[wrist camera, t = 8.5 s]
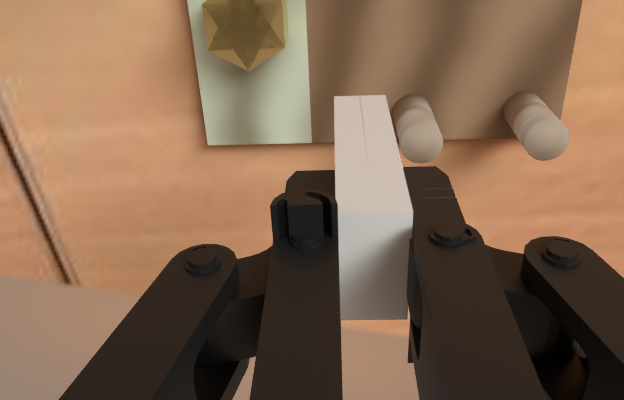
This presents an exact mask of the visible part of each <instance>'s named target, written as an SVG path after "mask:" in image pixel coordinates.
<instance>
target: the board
mask: <svg viewBox="0 0 624 400" xmlns="http://www.w3.org/2000/svg"><path fill="white" fill-rule="evenodd" d="M204 1H205V0H187V4H188V11H189V18H190V25H191V32H192V39H193V46H194V53H195V60H196V66H197V73H198V80H199V87H200V94H201V101H202V108H203V115H204V122H205V129H206V136H207V143H208V145H247V144H288V143H330V142H335V133H334V96H364V95H386V99H387V104H388V108H389V112H390V116H391V120H392V125H393V129H394V133H395V137H396V141H399V143H400V148H401V151H402V153H403V155H404V156H405V158H407V159H408V160H409V161H411V162H414V163H426V162H429V161H431V160H433V159H435V158H436V157H437V156H438V155H439V154H440V152H441V150H442V147H443V140H454V139H495V138H518V139H519V140H520V142H521V143H522V145H523V146H524V148H525V149H526V151H527V152H528V154H529V155H530V156H531V157H533V158H534V159H537V160H542V161H545V160H551V159H554V158H556V157H558V156H559V155H560V154H562V153H563V152H564V151H565V149H566V148H567V146H568V143H569V139H570V137H569V132H568V130H567V128H566V127H565V126H564V125H563V124H562V122H561V121H560V119H561V114H562V108H563V103H564V97H565V92H566V86H567V81H568V75H569V70H570V64H571V59H572V54H573V48H574V43H575V37H576V32H577V26H578V21H579V15H580V10H581V5H582V0H287V16H288V32H289V36H288V40H287V44H286V47H285V49H283V50H281V51H280V52H278V53H277V54H275V55H273V56H272V57H270V58H269V59H267V60H266V61H264V62H262V63H261V64H259V65H258V66H256V67H255V68H253V69H251V70H250V71H247V70H245V69H243V68H241V67H239V66H237V65H235V64H233V63H231V62H230V61H228V60H226V59H224V58H222V57H220V56H218V55H216V54H214V53H212V52H210V51H208V47H207V39H206V32H205V24H204V17H203V9H202V4H203V2H204Z"/></svg>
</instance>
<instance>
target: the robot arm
mask: <svg viewBox="0 0 624 400" xmlns="http://www.w3.org/2000/svg"><path fill="white" fill-rule="evenodd" d="M334 133H335V170H318V171H296V172H295V173H294V174H293V175H292V176H291V177H290V178H289V179H288V180H287V183H286V190H285V193H282V194H280V195H279V196H278V197H276V198H275V199H274V200H273V201H272V203H271V205H270V209H271V220H272V232H273V246H271V247H270V248H268V249H267V250H265V251H263V252H261V253H259V254H256V255H253V256H249V257H245V258H240V259H237V258H236V256H235V253H234V252H233V251H232V250H230V249H229V248H227V247H225V246H221V245H217V244H202V245H197V246H193V247H190V248H188V249H185V250H183V251H181V252H179V253H178V254H177V255H176V256H175V257H174V258H172V259H171V261H170V262H169V263H168V264H167V266H166V267H165V268H164V269H163V271H162V272H161V273H160V274H159V276H158V277H157V278H156V279H155V280H154V282H153V283H152V284H151V285H150V287H149V288H148V289H147V290H146V292H145V293H144V294H143V295H142V297H141V298H140V299H139V300H138V302H137V303H136V304H135V305H134V307H133V308H132V309H131V310H130V312H129V313H128V314H127V315H126V317H125V318H124V319H123V320H122V322H121V323H120V324H119V325H118V326H117V328H116V329H115V330H114V331H113V333H112V334H111V335H110V336H109V338H108V339H107V340H106V341H105V343H104V344H103V345H102V346H101V348H100V349H99V350H98V352H97V353H96V354H95V355H94V356H93V358H92V359H91V360H90V361H89V363H88V364H87V365H86V367H85V368H84V369H83V370H82V371H81V373H80V374H79V375H78V376H77V378H76V379H75V380H74V381H73V383H72V384H71V385H70V386H69V387H68V389H67V390H66V391H65V392H64V394H63V395H62V396H61V397H60V399H59V400H232V399H233V397H234V395H235V393H236V390H237V388H238V386H239V384H240V382H241V380H242V378H243V376H244V374H245V372H246V370H247V368H248V364H249V359H250V358H251V357H255V356H256V361H255V368H254V374H253V381H252V388H251V394H250V400H342V399H343V398H342V363H341V362H342V360H341V320H397V319H407V315H408V306H409V312H410V332H409V349H408V363H413V362H414V368H415V375H416V380H417V387H418V392H419V399H420V400H624V278H623V277H622V276H621V275H620V274H618V273H617V272H616V271H615V270H614V269H613V268H612V267H611V266H609V265H608V264H607V263H606V262H605V261H604V260H603V259H602V258H601V257H599V256H598V255H597V254H596V253H595V252H594V251H593V250H591V249H590V248H588V247H587V246H585V245H584V244H582V243H579V242H577V241H574V240H571V239H569V238H564V237H556V236H550V237H540V238H537V239H533V240H531V241H530V242H529V243H528V244H527V245H525V250H524V254H520V253H515V252H509V251H504V250H499V249H495V248H492V247H490V246H487V245H485V244H484V241H483V239H482V236H481V235H480V234H479V232H478V231H477V230H476V229H474V228H473V227H471V226H469V225H468V224H466V223H465V220H464V217H463V215H462V212H461V210H460V207H459V204H458V202H457V199H456V198H455V194H454V191H453V189H452V186H451V183H450V180H449V178H448V176H447V175H446V174H445V173H444V172H442V171H441V170H440V169H439V168H437V167H436V166H430V167H403V166H402V162H401V158H400V154H399V150H398V145H397V141H396V137H395V133H394V129H393V125H392V120H391V116H390V112H389V108H388V104H387V99H386V95H364V96H334Z"/></svg>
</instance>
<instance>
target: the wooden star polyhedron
mask: <svg viewBox="0 0 624 400" xmlns="http://www.w3.org/2000/svg"><path fill="white" fill-rule="evenodd" d="M202 9H203V17H204V24H205V32H206V39H207V47H208V51H210V52H212V53H214V54H216V55H218V56H220V57H222V58H224V59H226V60H228V61H230V62H231V63H233V64H235V65H237V66H239V67H241V68H243V69H245V70H247V71H250V70H251V69H253V68H255V67H256V66H258V65H259V64H261V63H262V62H264V61H266V60H267V59H269V58H270V57H272V56H273V55H275V54H277V53H278V52H280V51H281V50H283V49H285V47H286V44H287V40H288V36H289V32H288V16H287V0H205V1H204V2H203V4H202Z"/></svg>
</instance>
